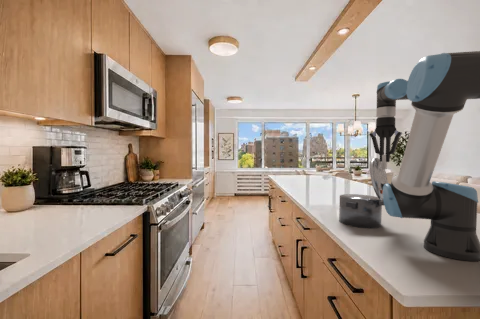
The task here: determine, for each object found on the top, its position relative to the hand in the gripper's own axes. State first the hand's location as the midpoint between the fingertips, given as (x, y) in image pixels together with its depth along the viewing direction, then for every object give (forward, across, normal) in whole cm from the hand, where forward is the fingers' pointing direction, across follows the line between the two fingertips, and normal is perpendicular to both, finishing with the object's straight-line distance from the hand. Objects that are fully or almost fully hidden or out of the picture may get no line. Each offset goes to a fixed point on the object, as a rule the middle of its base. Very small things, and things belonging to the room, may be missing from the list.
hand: (384, 169), depth 112 cm
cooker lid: (+4, +2, +4) cm, 6 cm away
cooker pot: (+26, +9, +4) cm, 28 cm away
